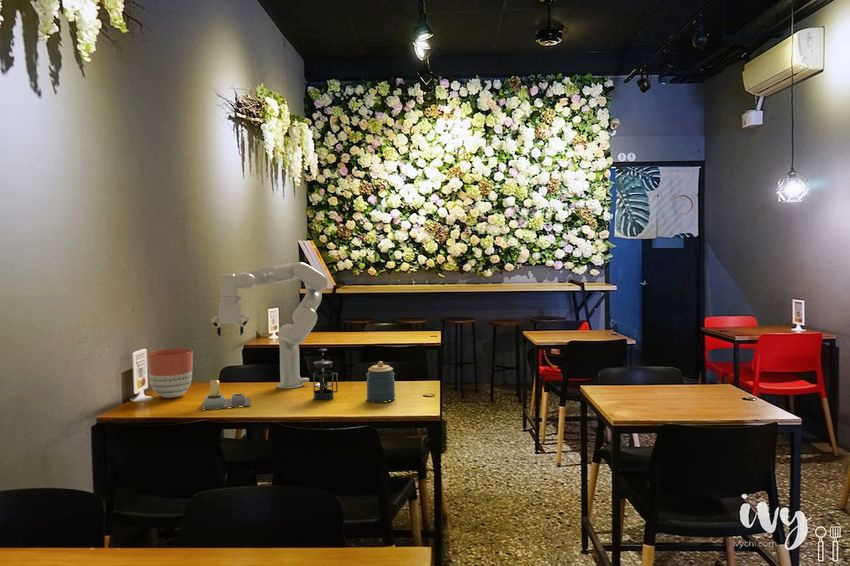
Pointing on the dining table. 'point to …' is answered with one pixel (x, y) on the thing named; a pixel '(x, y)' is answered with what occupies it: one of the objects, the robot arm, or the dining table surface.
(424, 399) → the dining table surface
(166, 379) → the planter
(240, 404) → the manifold
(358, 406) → the dining table surface
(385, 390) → the canister
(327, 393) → the french press
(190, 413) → the dining table surface
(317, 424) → the dining table surface
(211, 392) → the tan cylinder
